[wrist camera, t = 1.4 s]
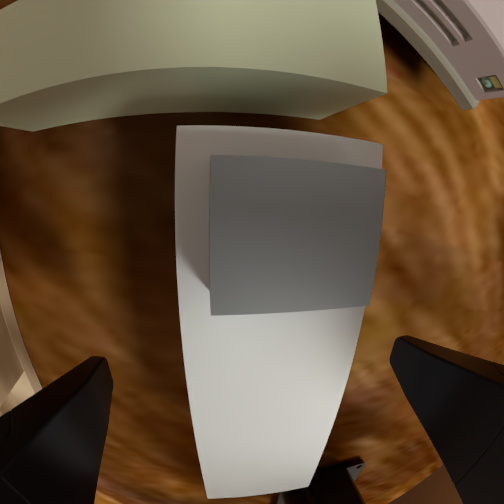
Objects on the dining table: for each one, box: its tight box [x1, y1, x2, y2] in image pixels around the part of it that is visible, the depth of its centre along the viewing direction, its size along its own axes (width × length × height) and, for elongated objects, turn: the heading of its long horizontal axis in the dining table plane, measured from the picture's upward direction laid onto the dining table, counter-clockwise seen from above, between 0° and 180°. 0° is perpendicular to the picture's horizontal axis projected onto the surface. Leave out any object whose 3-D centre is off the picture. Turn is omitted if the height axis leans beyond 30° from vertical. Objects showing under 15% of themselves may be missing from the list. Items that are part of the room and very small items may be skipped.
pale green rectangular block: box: [0, 0, 387, 132], centre depth 6 cm, size 4×11×4 cm, turn 88°
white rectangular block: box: [175, 125, 386, 499], centre depth 8 cm, size 12×4×6 cm, turn 178°
